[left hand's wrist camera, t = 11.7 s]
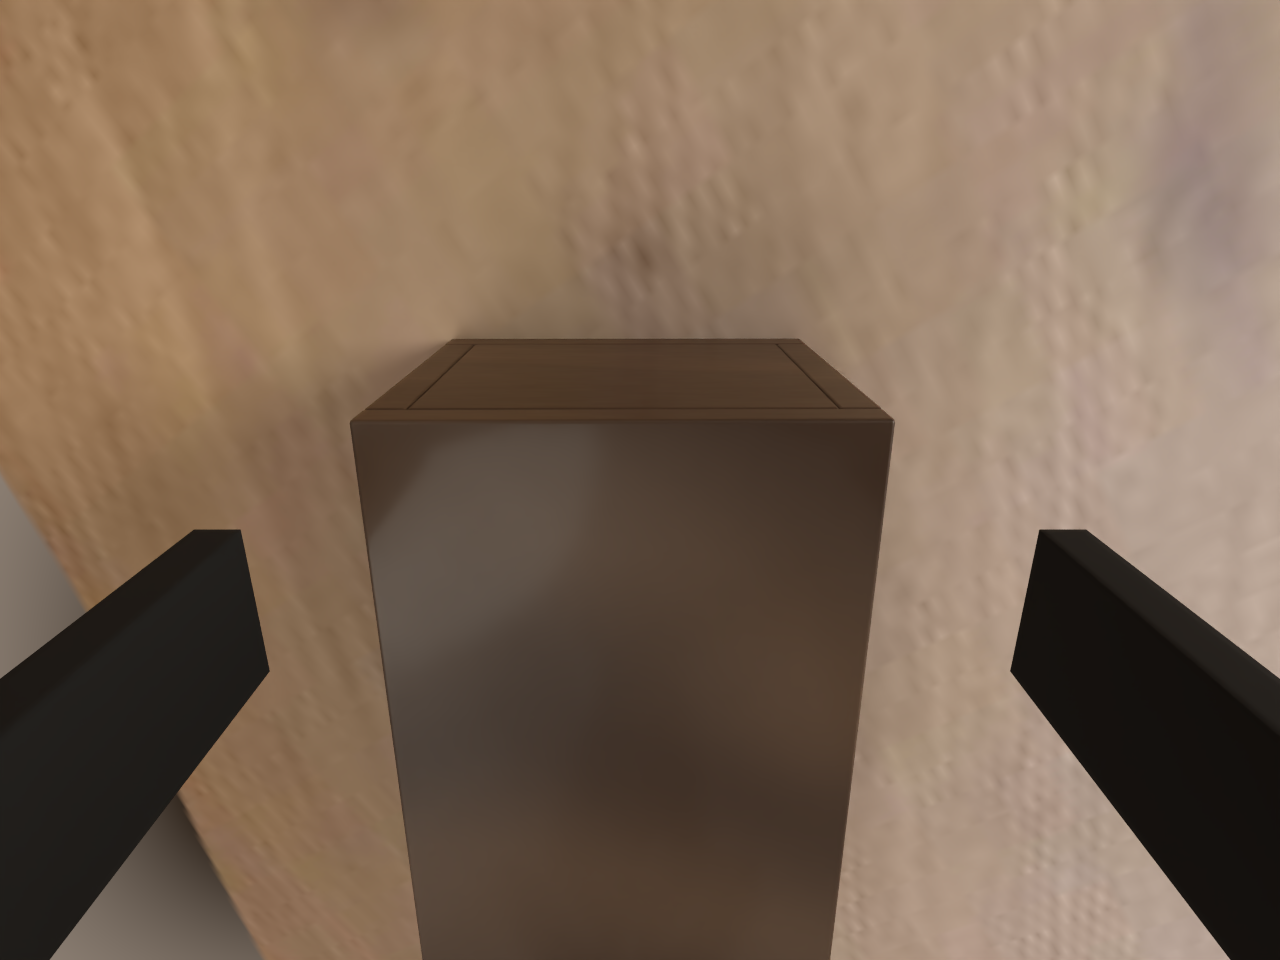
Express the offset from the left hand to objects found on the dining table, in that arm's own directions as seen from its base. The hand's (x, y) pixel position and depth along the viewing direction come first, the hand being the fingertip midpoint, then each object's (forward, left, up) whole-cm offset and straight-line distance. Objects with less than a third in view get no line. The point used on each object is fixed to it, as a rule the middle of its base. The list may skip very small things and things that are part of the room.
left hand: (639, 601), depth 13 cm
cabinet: (+6, -1, -11) cm, 13 cm away
